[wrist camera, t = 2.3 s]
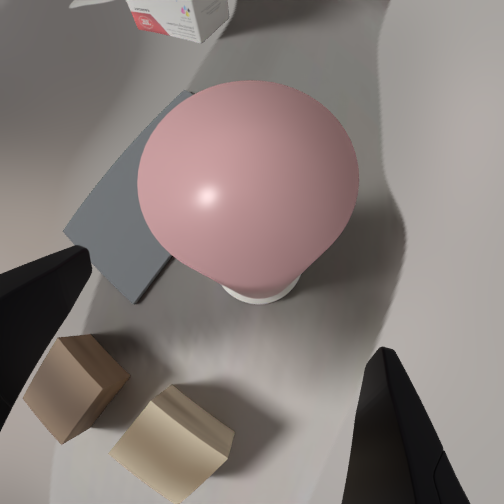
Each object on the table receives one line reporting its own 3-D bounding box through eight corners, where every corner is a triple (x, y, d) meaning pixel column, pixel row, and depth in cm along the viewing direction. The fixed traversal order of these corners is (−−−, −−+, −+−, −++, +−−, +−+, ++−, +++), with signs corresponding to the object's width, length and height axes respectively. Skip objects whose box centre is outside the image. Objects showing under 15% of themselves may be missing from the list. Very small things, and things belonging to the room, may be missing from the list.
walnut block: (91, 427, 17) (61, 444, 13) (55, 388, 18) (22, 398, 14) (131, 375, 18) (102, 388, 14) (91, 334, 18) (57, 337, 15)
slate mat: (135, 304, 19) (133, 304, 18) (65, 232, 20) (62, 231, 19) (268, 140, 20) (268, 137, 20) (185, 92, 21) (184, 89, 21)
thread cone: (266, 321, 18) (271, 354, 5) (199, 268, 19) (83, 195, 6) (318, 253, 19) (410, 152, 6) (251, 203, 19) (229, 46, 7)
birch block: (191, 475, 16) (177, 505, 13) (133, 431, 17) (108, 453, 13) (235, 431, 17) (228, 458, 13) (172, 384, 18) (150, 400, 14)
